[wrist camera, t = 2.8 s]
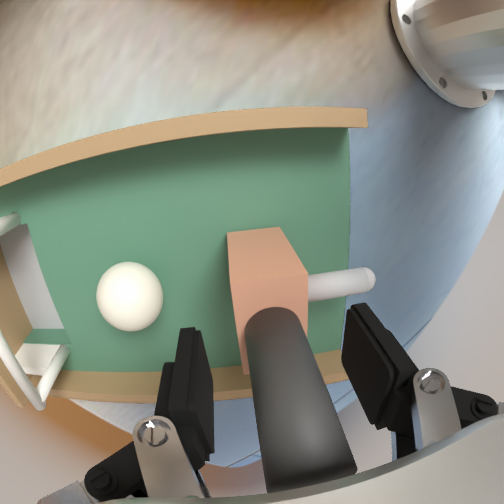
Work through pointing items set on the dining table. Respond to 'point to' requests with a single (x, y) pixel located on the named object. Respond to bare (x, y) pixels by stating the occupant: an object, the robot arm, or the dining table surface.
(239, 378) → the pitch
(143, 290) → the ball
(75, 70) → the dining table surface
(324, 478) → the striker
